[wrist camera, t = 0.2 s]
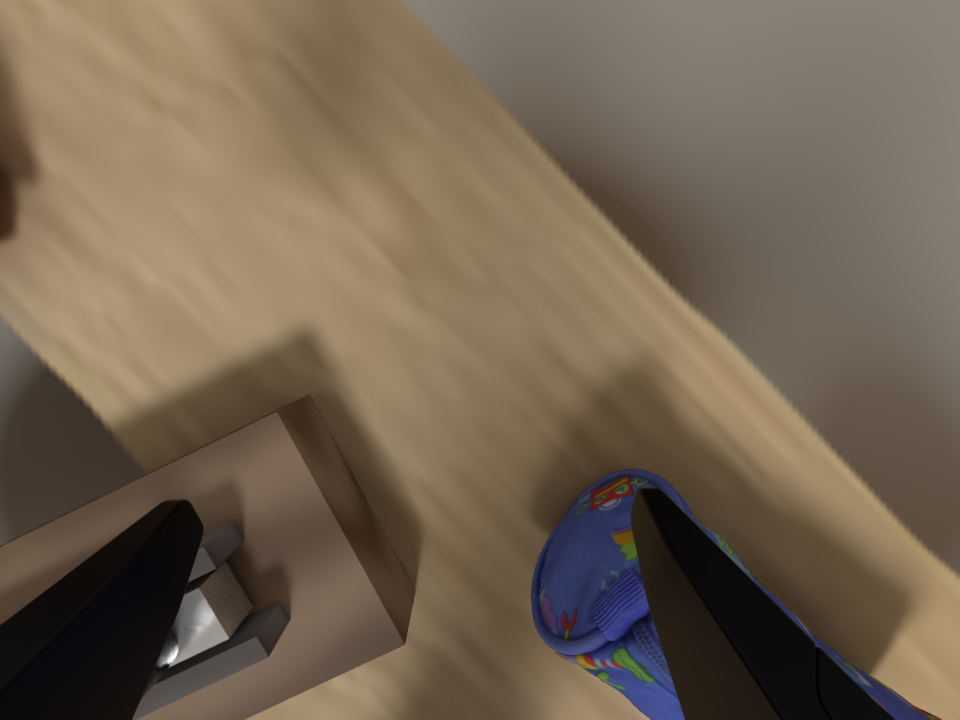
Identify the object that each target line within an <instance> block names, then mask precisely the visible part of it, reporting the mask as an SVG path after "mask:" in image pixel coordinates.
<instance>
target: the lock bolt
mask: <svg viewBox="0 0 960 720" xmlns="http://www.w3.org/2000/svg"><path fill="white" fill-rule="evenodd" d="M252 607H253V606H252V605H251V603H250V601H249V599H248V598H247V596H246V594H245V593H244V591H243V589H242V588H241V586H240V584H239V582H238V581H237V579H236V577H235V576H234V574H233V572H232V571H231V569H230V567H229V565H228V564H227V562H226V561H223V562H222V563H221V564H220V565H219V566H218V567H217V568H216V569H214V570H212V571H210V572H208V573H206V574H204V575H202V576H200V577H198V578H196V579H194V580H191V581H189V582H188V585H187V588H186V591H185V594H184V597H183V600H182V603H181V606H180V609H179V611H178V614H177V616H176V619H175V621H174V624H173V626H172V629H171V631H170V633H169V636H168V638H167V640H166V642H165V645H164V647H163V649H162V652H161V654H160V656H159V659H158V661H157V663H156V666H155V668H154V670H153V673H152V675H151V677H150V680H149V682H148V684H147V687H146V689H145V691H144V694H143V696H142V698H143V697H144V696H145V695H146V694H147V693H148V691H149V690H150V689H151V688H152V687H153V685H154V684H155V683H156V682H157V681H158V679H159V678H160V677H161V676H162V675H163V674H164V672H165V671H166V670H167V669H168V668H169V667H171V666H173V665H175V664H177V663H179V662H181V661H183V660H185V659H188V658H190V657H192V656H194V655H196V654H198V653H200V652H202V651H204V650H207V649H209V648H211V647H213V646H215V645H217V644H219V643H221V642H223V641H226V640H228V639H229V638H230V637H231V636H232V634H233V633H234V632H235V630H236V629H237V627H238V626H239V625H240V623H241V622H242V621H243V619H244V618H245V617H246V615H247V614H248V612H249V611H250V610H251V608H252ZM142 698H141V700H142Z"/></svg>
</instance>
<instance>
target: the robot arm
mask: <svg viewBox="0 0 960 720" xmlns="http://www.w3.org/2000/svg"><path fill="white" fill-rule="evenodd" d="M630 520H631V527H632V532H633V537H634V542H635V547H636V551H637V556H638V561H639V566H640V571H641V576H642V581H643V585H644V590H645V594H646V599H647V602H648V606H649V609H650V613H651V616H652V619H653V622H654V625H655V628H656V631H657V635H658V638H659V641H660V644H661V647H662V650H663V653H664V656H665V659H666V663H667V666H668V669H669V672H670V675H671V678H672V681H673V684H674V687H675V691H676V694H677V697H678V700H679V703H680V706H681V709H682V712H683V715H684V719H685V720H896V719H895V718H894V717H892V716H891V715H890V714H889V713H888V712H887V711H886V710H885V709H884V708H882V707H881V706H880V705H879V704H878V703H877V702H876V701H875V700H874V699H873V698H872V697H871V696H869V695H868V694H867V693H866V692H865V691H864V690H863V689H862V688H861V687H860V686H859V685H858V684H857V683H856V682H855V681H854V680H853V679H852V678H851V677H850V676H849V675H848V674H847V673H846V672H845V671H843V670H842V669H841V668H840V667H839V666H838V665H837V664H836V663H835V662H834V661H833V660H832V659H831V658H830V657H829V656H828V655H827V654H826V653H825V652H824V651H823V650H822V649H821V648H820V647H816V644H815V642H814V641H813V640H812V639H811V638H810V637H809V636H808V635H807V634H806V633H805V632H804V631H803V630H802V629H801V628H800V627H799V626H798V625H797V624H796V623H795V622H794V621H793V620H792V619H791V618H790V617H789V616H788V615H787V614H786V613H785V612H784V611H783V610H782V609H781V608H780V607H779V606H778V605H777V604H776V603H775V602H774V601H773V600H772V599H771V598H770V597H769V596H768V595H767V594H766V593H765V592H764V591H763V590H762V589H761V588H760V587H759V586H758V585H757V584H756V583H755V582H754V581H753V580H752V579H751V578H750V577H749V576H748V575H747V574H746V573H745V572H744V571H743V570H742V569H741V568H740V567H739V566H738V565H737V564H736V563H735V562H734V561H733V560H732V559H731V558H730V557H729V556H728V555H727V554H726V553H725V552H724V551H723V550H722V549H721V548H720V547H719V546H718V545H717V544H716V543H715V542H714V541H713V540H712V539H711V538H710V537H709V536H708V535H707V534H706V533H705V532H704V531H703V530H702V529H701V528H700V527H699V526H698V525H697V524H696V523H695V522H694V521H693V520H692V519H691V518H690V517H689V516H688V515H687V514H686V513H684V512H683V511H682V510H681V509H680V508H679V507H678V506H677V505H676V504H675V503H674V502H673V501H672V500H671V499H670V498H669V497H668V496H667V495H666V494H665V493H664V492H663V491H662V490H661V489H660V488H658V487H639V488H638V489H637V490H636V493H635V497H634V501H633V505H632V509H631V514H630ZM203 532H204V527H203V523H202V521H201V519H200V518H199V516H198V514H197V512H196V511H195V509H194V507H193V505H192V504H191V502H190V501H189V500H187V499H169V500H165V501H163V502H161V503H160V504H159V505H157V506H156V507H155V508H153V509H152V510H151V511H149V512H148V513H147V514H145V515H144V516H143V517H141V518H140V519H139V520H138V521H136V522H135V523H134V524H132V525H131V526H130V527H128V528H127V529H126V530H124V531H123V532H122V533H120V534H119V535H118V536H116V537H115V538H114V539H113V540H111V541H110V542H109V543H107V544H106V545H105V546H103V547H102V548H101V549H99V550H98V551H97V552H95V553H94V554H93V555H91V556H90V557H89V558H88V559H86V560H85V561H84V562H82V563H81V564H80V565H78V566H77V567H76V568H74V569H73V570H72V571H70V572H69V573H68V574H66V575H65V576H64V577H63V578H61V579H60V580H59V581H57V582H56V583H55V584H53V585H52V586H51V587H49V588H48V589H47V590H45V591H44V592H43V593H41V594H40V595H39V596H38V597H36V598H35V599H34V600H32V601H31V602H30V603H28V604H27V605H26V606H24V607H23V608H22V609H20V610H19V611H18V612H16V613H15V614H14V615H13V616H11V617H10V618H9V619H7V620H6V621H5V622H3V623H2V624H1V625H0V720H132V719H133V717H134V715H135V712H136V710H137V708H138V705H139V703H140V701H141V698H142V696H143V694H144V691H145V689H146V687H147V684H148V682H149V680H150V677H151V675H152V673H153V670H154V668H155V666H156V663H157V661H158V659H159V656H160V654H161V652H162V649H163V647H164V645H165V642H166V640H167V638H168V636H169V633H170V631H171V629H172V626H173V624H174V621H175V619H176V616H177V614H178V611H179V609H180V606H181V603H182V600H183V597H184V594H185V591H186V588H187V585H188V581H189V578H190V575H191V572H192V569H193V566H194V563H195V559H196V556H197V553H198V550H199V547H200V544H201V540H202V537H203Z"/></svg>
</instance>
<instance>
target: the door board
mask: <svg viewBox="0 0 960 720" xmlns="http://www.w3.org/2000/svg"><path fill="white" fill-rule="evenodd" d="M169 499H187V500H189V501H190V502H191V504H192V505H193V507H194V509H195V511H196V512H197V514H198V516H199V518H200V519H201V521H202V523H203V527H204V532H203V537H202V540H201V544H200V547H199V550H198V553H197V556H196V559H195V563H194V566H193V569H192V572H191V575H190V578H189V581H191V580H194V579H196V578H198V577H200V576H202V575H204V574H206V573H208V572H210V571H212V570H214V569H216V568H217V567H218V566H219V565H220V564H221V563H222V562H223V561H226V562H227V564H228V565H229V567H230V569H231V571H232V572H233V574H234V576H235V577H236V579H237V581H238V582H239V584H240V586H241V588H242V589H243V591H244V593H245V594H246V596H247V598H248V599H249V601H250V603H251V605H252V606H253V607H252V608H251V610H250V611H249V612H248V614H247V615H246V617H245V618H244V619H243V621H242V622H241V623H240V625H239V626H238V627H237V629H236V630H235V632H234V633H233V634H232V636H231V637H230V638H229V639H228V640H226V641H223V642H221V643H219V644H217V645H215V646H213V647H211V648H209V649H207V650H204V651H202V652H200V653H198V654H196V655H194V656H192V657H190V658H188V659H185V660H183V661H181V662H179V663H177V664H175V665H173V666H171V667H169V668H168V669H167V670H166V671H165V672H164V674H163V675H162V676H161V677H160V678H159V679H158V681H157V682H156V683H155V684H154V685H153V687H152V688H151V689H150V690H149V691H148V693H147V694H146V695H145V696H144V697H143V698H142V700H141V701H140V703H139V705H138V708H137V710H136V712H135V715H134V717H133V719H132V720H244V719H246V718H249V717H251V716H253V715H255V714H257V713H259V712H261V711H264V710H266V709H268V708H270V707H272V706H274V705H276V704H279V703H281V702H283V701H285V700H287V699H289V698H291V697H294V696H296V695H298V694H300V693H302V692H304V691H306V690H309V689H311V688H313V687H315V686H317V685H319V684H321V683H324V682H326V681H328V680H330V679H332V678H334V677H336V676H339V675H341V674H343V673H345V672H347V671H349V670H351V669H354V668H356V667H358V666H360V665H362V664H364V663H367V662H369V661H371V660H373V659H375V658H377V657H379V656H382V655H384V654H386V653H388V652H390V651H392V650H394V649H397V648H399V647H401V646H403V645H405V642H406V637H407V632H408V627H409V622H410V617H411V612H412V607H413V602H414V596H415V589H414V587H413V586H412V584H411V582H410V580H409V578H408V576H407V575H406V573H405V571H404V569H403V567H402V565H401V563H400V562H399V560H398V558H397V556H396V554H395V552H394V550H393V549H392V547H391V545H390V543H389V541H388V539H387V537H386V536H385V534H384V532H383V530H382V528H381V526H380V525H379V523H378V521H377V519H376V517H375V515H374V513H373V512H372V510H371V508H370V506H369V504H368V502H367V500H366V499H365V497H364V495H363V493H362V491H361V489H360V487H359V486H358V484H357V482H356V480H355V478H354V476H353V475H352V473H351V471H350V469H349V467H348V465H347V463H346V462H345V460H344V458H343V456H342V454H341V452H340V450H339V449H338V447H337V445H336V443H335V441H334V439H333V437H332V436H331V434H330V432H329V430H328V428H327V426H326V425H325V423H324V421H323V419H322V417H321V415H320V413H319V412H318V410H317V408H316V406H315V404H314V402H313V400H312V399H311V397H310V395H307V396H305V397H303V398H301V399H299V400H297V401H295V402H292V403H290V404H288V405H286V406H284V407H282V408H280V409H278V410H276V411H274V412H272V413H270V414H268V415H266V416H264V417H262V418H260V419H258V420H256V421H254V422H252V423H250V424H248V425H246V426H244V427H241V428H239V429H237V430H235V431H233V432H231V433H229V434H227V435H225V436H223V437H221V438H219V439H217V440H215V441H213V442H211V443H209V444H207V445H205V446H203V447H201V448H199V449H197V450H195V451H193V452H190V453H188V454H186V455H184V456H182V457H180V458H178V459H176V460H174V461H172V462H170V463H168V464H166V465H164V466H162V467H160V468H158V469H156V470H154V471H152V472H150V473H148V474H146V475H144V476H141V477H139V478H137V479H135V480H133V481H131V482H129V483H127V484H125V485H123V486H121V487H119V488H117V489H115V490H113V491H111V492H109V493H107V494H105V495H103V496H101V497H99V498H97V499H95V500H93V501H91V502H88V503H86V504H84V505H82V506H80V507H79V508H77V509H74V510H72V511H70V512H68V513H66V514H64V515H62V516H60V517H58V518H56V519H54V520H52V521H50V522H48V523H46V524H44V525H42V526H39V527H38V528H36V529H33V530H31V531H29V532H28V533H25V534H23V535H21V536H19V537H17V538H15V539H13V540H11V541H9V542H7V543H5V544H3V545H1V546H0V625H1V624H2V623H3V622H5V621H6V620H7V619H9V618H10V617H11V616H13V615H14V614H15V613H16V612H18V611H19V610H20V609H22V608H23V607H24V606H26V605H27V604H28V603H30V602H31V601H32V600H34V599H35V598H36V597H38V596H39V595H40V594H41V593H43V592H44V591H45V590H47V589H48V588H49V587H51V586H52V585H53V584H55V583H56V582H57V581H59V580H60V579H61V578H63V577H64V576H65V575H66V574H68V573H69V572H70V571H72V570H73V569H74V568H76V567H77V566H78V565H80V564H81V563H82V562H84V561H85V560H86V559H88V558H89V557H90V556H91V555H93V554H94V553H95V552H97V551H98V550H99V549H101V548H102V547H103V546H105V545H106V544H107V543H109V542H110V541H111V540H113V539H114V538H115V537H116V536H118V535H119V534H120V533H122V532H123V531H124V530H126V529H127V528H128V527H130V526H131V525H132V524H134V523H135V522H136V521H138V520H139V519H140V518H141V517H143V516H144V515H145V514H147V513H148V512H149V511H151V510H152V509H153V508H155V507H156V506H157V505H159V504H160V503H161V502H163V501H165V500H169ZM189 581H188V582H189Z"/></svg>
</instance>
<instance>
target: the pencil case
mask: <svg viewBox="0 0 960 720" xmlns="http://www.w3.org/2000/svg"><path fill="white" fill-rule="evenodd" d="M639 487H658V488H660V489H661V490H662V491H663V492H664V493H665V494H666V495H667V496H668V497H669V498H670V499H671V500H672V501H673V502H674V503H675V504H676V505H677V506H678V507H679V508H680V509H681V510H682V511H683V512H684V513H686V514H687V515H688V516H689V517H690V518H691V519H692V520H693V521H694V522H695V523H696V524H697V525H698V526H699V527H700V528H701V529H702V530H703V531H704V532H705V533H706V534H707V535H708V536H709V537H710V538H711V539H712V540H713V541H714V542H715V543H716V544H717V545H718V546H719V547H720V548H721V549H722V550H723V551H724V552H725V553H726V554H727V555H728V556H729V557H730V558H731V559H732V560H733V561H734V562H735V563H736V564H737V565H738V566H739V567H740V568H741V569H742V570H743V571H744V572H745V573H746V574H747V575H748V576H749V577H750V578H751V579H752V580H753V581H754V582H755V583H756V584H757V585H758V586H759V587H760V588H761V589H762V590H763V591H764V592H765V593H766V594H767V595H768V596H769V597H770V598H771V599H772V600H773V601H774V602H775V603H776V604H777V605H778V606H779V607H780V608H781V609H782V610H783V611H784V612H785V613H786V614H787V615H788V616H789V617H790V618H791V619H792V620H793V621H794V622H795V623H796V624H797V625H798V626H799V627H800V628H801V629H802V630H803V631H804V632H805V633H806V634H807V635H808V636H809V637H810V638H811V639H812V640H813V641H814V642H815V644H816V647H820V648H821V649H822V650H823V651H824V652H825V653H826V654H827V655H828V656H829V657H830V658H831V659H832V660H833V661H834V662H835V663H836V664H837V665H838V666H839V667H840V668H841V669H842V670H843V671H845V672H846V673H847V674H848V675H849V676H850V677H851V678H852V679H853V680H854V681H855V682H856V683H857V684H858V685H859V686H860V687H861V688H862V689H863V690H864V691H865V692H866V693H867V694H868V695H869V696H871V697H872V698H873V699H874V700H875V701H876V702H877V703H878V704H879V705H880V706H881V707H882V708H884V709H885V710H886V711H887V712H888V713H889V714H890V715H891V716H892V717H894V718H895V719H896V720H941V719H940V718H938V717H936V716H934V715H932V714H930V713H928V712H926V711H924V710H922V709H920V708H918V707H916V706H914V705H912V704H911V703H909V702H908V701H907V700H905V699H904V698H903V697H901V696H900V695H899V694H897V693H896V692H895V691H893V690H892V689H890V688H889V687H887V686H886V685H884V684H883V683H881V682H880V681H878V680H876V679H875V678H873V677H871V676H870V675H868V674H866V673H865V672H863V671H861V670H860V669H858V668H856V667H855V666H853V665H851V664H849V663H848V662H847V661H846V660H845V659H844V658H843V657H842V656H841V655H839V654H838V653H837V652H835V651H834V650H833V649H832V648H830V647H829V646H828V645H826V644H825V643H824V642H822V641H821V640H819V639H818V638H816V637H815V636H814V635H812V634H811V633H810V632H809V631H808V630H807V628H806V627H805V626H804V625H803V623H802V622H801V621H800V620H799V619H798V617H797V616H796V615H795V614H794V613H792V611H790V610H789V609H788V608H787V607H786V606H785V605H784V604H783V603H782V602H781V601H780V600H778V599H777V598H776V597H775V596H774V595H773V594H772V593H771V592H769V591H768V590H767V589H765V588H764V587H763V586H762V585H761V584H759V583H758V582H757V581H756V579H755V578H754V576H753V575H752V573H751V572H750V571H749V570H748V568H747V567H746V566H745V565H744V563H743V562H742V561H741V560H740V558H739V557H738V556H737V555H736V554H735V553H734V551H733V550H732V549H731V548H730V546H729V545H728V544H727V543H726V542H725V541H724V540H723V539H722V538H721V537H720V536H719V535H718V534H717V533H715V532H714V531H712V530H710V529H708V528H706V527H704V526H701V525H699V524H698V523H697V521H696V519H695V518H694V516H693V515H692V513H691V511H690V509H689V507H688V505H687V504H686V502H685V501H684V499H683V498H682V496H681V495H680V494H679V493H678V492H677V491H676V490H675V489H674V488H673V487H672V486H671V485H670V484H669V483H668V482H667V481H666V480H665V479H663V478H661V477H660V476H658V475H656V474H654V473H651V472H648V471H645V470H639V469H627V470H621V471H617V472H614V473H612V474H609V475H607V476H605V477H603V478H602V479H600V480H599V481H598V482H596V483H595V484H594V485H592V486H590V487H589V488H588V489H586V490H585V491H584V492H583V493H582V494H581V495H580V496H579V497H578V499H577V500H576V502H575V503H574V504H573V505H572V507H571V508H570V509H569V510H568V512H567V513H566V516H565V517H564V518H563V519H562V521H561V522H560V523H559V524H558V525H557V527H556V528H555V529H554V531H553V532H552V533H551V535H550V536H549V538H548V540H547V542H546V543H545V545H544V547H543V549H542V552H541V554H540V556H539V558H538V561H537V564H536V568H535V571H534V576H533V582H532V590H531V603H532V613H533V619H534V623H535V627H536V629H537V631H538V633H539V635H540V636H541V638H542V639H543V640H544V642H545V643H546V644H547V645H548V646H549V647H551V648H552V649H553V650H554V651H555V652H556V653H557V654H558V655H559V656H560V657H562V658H563V659H565V660H567V661H569V662H572V663H575V664H578V665H580V666H581V667H582V668H584V669H585V670H587V671H588V672H590V673H591V674H593V675H594V676H596V677H598V678H599V679H600V680H601V681H603V682H605V683H607V684H608V685H610V686H612V687H613V688H615V689H616V690H618V691H619V692H621V693H622V694H623V695H624V696H625V697H626V698H627V699H629V700H630V701H631V703H632V704H633V705H634V706H635V707H636V708H637V709H639V710H640V711H641V712H642V713H643V714H645V715H646V716H647V717H648V718H650V719H651V720H685V719H684V715H683V712H682V709H681V706H680V703H679V700H678V697H677V694H676V691H675V687H674V684H673V681H672V678H671V675H670V672H669V669H668V666H667V663H666V659H665V656H664V653H663V650H662V647H661V644H660V641H659V638H658V635H657V631H656V628H655V625H654V622H653V619H652V616H651V613H650V609H649V606H648V602H647V599H646V594H645V590H644V585H643V581H642V576H641V571H640V566H639V561H638V556H637V551H636V547H635V542H634V537H633V532H632V527H631V520H630V514H631V509H632V505H633V501H634V497H635V493H636V490H637V489H638V488H639Z"/></svg>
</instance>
